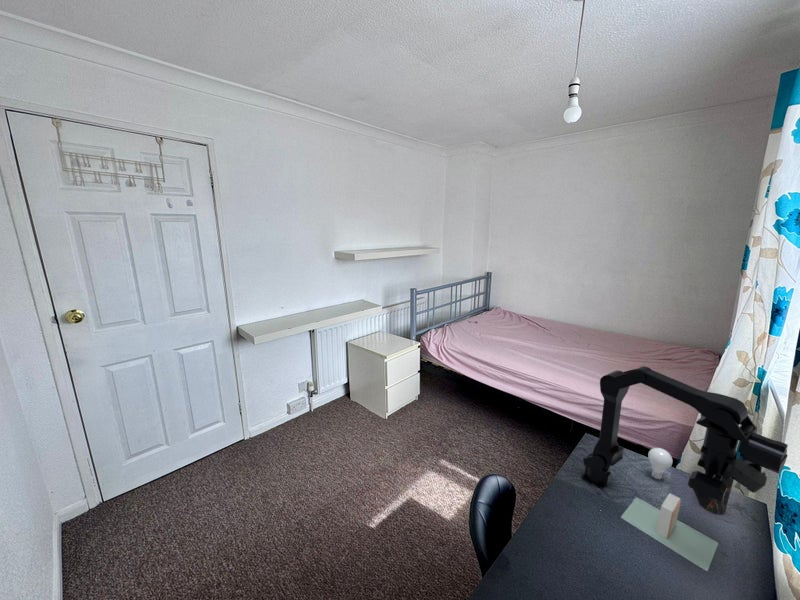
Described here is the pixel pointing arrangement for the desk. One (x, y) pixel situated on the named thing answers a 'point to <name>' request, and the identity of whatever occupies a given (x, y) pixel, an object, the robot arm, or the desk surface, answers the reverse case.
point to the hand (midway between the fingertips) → (707, 496)
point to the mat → (672, 534)
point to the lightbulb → (659, 461)
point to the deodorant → (720, 506)
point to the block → (668, 516)
